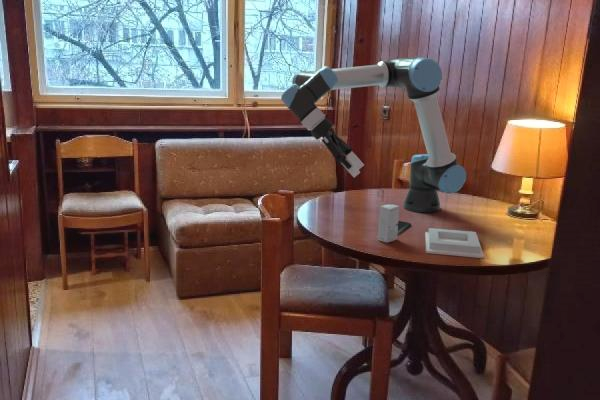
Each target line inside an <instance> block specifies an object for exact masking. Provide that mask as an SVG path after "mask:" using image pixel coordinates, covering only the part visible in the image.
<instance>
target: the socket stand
mask: <svg viewBox="0 0 600 400" xmlns="http://www.w3.org/2000/svg"><path fill="white" fill-rule="evenodd" d="M424 236H425V237H424V238H425V239H424V241H425V253H426V254H433V255H434V254H435V255H444V256H445V255H446V256H455V257H457V256H458V257H465V258H466V257H467V258H477V259H478V258H479V259H485V255H484V252H483V249H482V247H481V243H480V240H479V238H478V234H477V232H476V231H470V230H469V231H468V230H458V229H443V228H435V227H434V228H433V227H429V228H428V231H425V232H424Z"/></svg>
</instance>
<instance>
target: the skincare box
mask: <svg viewBox="0 0 600 400" xmlns="http://www.w3.org/2000/svg"><path fill="white" fill-rule="evenodd" d="M399 215H400V206H399V205H396V204H391V203H388V204H384V205H380V206H379V214H378V229H377V230H378V231H377V232H378V233H377V240H378V241H380V242H383V243H390V242H394V241H397V240H398V235H397V233H398V221H399V218H400V217H399Z"/></svg>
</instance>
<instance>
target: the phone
mask: <svg viewBox="0 0 600 400" xmlns="http://www.w3.org/2000/svg"><path fill="white" fill-rule="evenodd" d="M411 225H412V223H411V222H406V221H401V220H398V233H397V236H398V235H399V236H400V234H401V233H403V232H404V231H405V230H407V229H408V228H410V227H412V226H411Z"/></svg>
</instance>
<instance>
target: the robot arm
mask: <svg viewBox="0 0 600 400" xmlns="http://www.w3.org/2000/svg"><path fill="white" fill-rule="evenodd" d="M442 71H443V69H442V67H441V66H440V64H439V63H438V62H437V61H436V60H434V59H432V58H430V57H425V56H420V57H411V56H410V57H407V56H406V57H401V58H395V59H390V60H384V61H379V62H378V63H377V64H372V65H361V66H350V67H339V68H338V67H337V68H330V66H327V65H323V66H322V67H321V68H319V69H318V70H308V71H307V70H300V71H297V72H296V73H295V74H294V75H293V77H292V82H291V83H292V85H291V86H289V87H287V89H285V91H284V92H283V93H282V94H281V97H280V98H281V101H282V102H283V103H284V105H285V107H287V109H288V110H289V111H290V112H291V113H292V114H293V115H294V116H295V117H296V118H297V119H298V121H299V122H300V123H301V124H302V127H303V128H306V129H307V131H310V134H311V135H312V136H313V138H314V139H315V140H316V141H318V140H319V139H321V138H322V139H321V141H322V143H323V144H324V145H325V147H326V148H327V149H328V151H329V152H330V153H331V155H332V156H333V157H334V159H335V161H336V163H337V165H342V166H343V167H344V169H346V171H347V172H348V174H350V175H351V176H352V177H353V178H356V177H357V176H359V174H360V173H361V171H360V169H361V168H362V167H364V166H365V164H364V163H363V162H362V160H361V159H360V158H359V157H358V156H357V154H355V152H353V150H354V148H353V147H351V146H349V145H348V143H346V142H345V141H344V140H343V139H342V138H341V137H340V136H339V135H338V134H337V133H336V132H335V131H334V130H331V129H332V128H333V127H334V124H333V123H332V122H331V120H330V119H328V117H326V114H324V112H322V110H321V109H320V108H319V107H318V106H317V105H316V103H317V102H318V101H319V100H321V99H322V97H325V95H327V94H328V93H329V92H330V91H335V90H343V89H344V90H345V89H355V88H363V87H371V86H372V87H373V86H374V87H375V86H378V87H380V88H395V89H397V88H399V89H404V90H405V91H406V94H407V98H408V100H410V101H412V102H413V104H414V109H415V111H416V116H417V120H418V123H419V127H420V130H421V135H422V138H423V143H424V146H425V149H426V153H425V154H424V153H422V154H414V155H413V156H412V157H411V161H410V172H409V174H410V175H409V187H408V191H407V193H406V195H405V198H404V200H403V208H404V209H406V210H408V211H413V212H415V213H436V212H439V211H440V210H441V202H440V197H439V193H438V191H439V192H441V193H445V194H450V195H451V194H454V193H457V192H458V191H460V190H461V188H463V186H464V184H465V183H466V179H467V171H466V170H465V168H464V167H463V166H462V165H460V164H459V163H458V159H457V156H456V154H455V153H453V152H451V147H450V144H449V140H448V136H447V132H446V127H445V123H444V120H443V116H442V111H441V107H440V103H439V99H438V96H437V95H438V94H439V92H440V85H441V82H442V80H443V72H442Z"/></svg>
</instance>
